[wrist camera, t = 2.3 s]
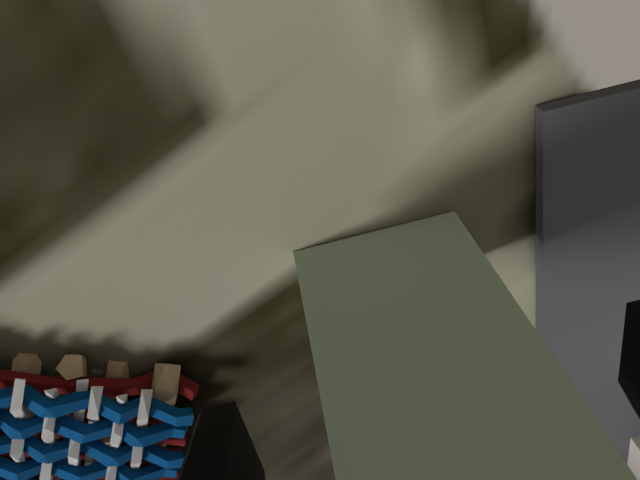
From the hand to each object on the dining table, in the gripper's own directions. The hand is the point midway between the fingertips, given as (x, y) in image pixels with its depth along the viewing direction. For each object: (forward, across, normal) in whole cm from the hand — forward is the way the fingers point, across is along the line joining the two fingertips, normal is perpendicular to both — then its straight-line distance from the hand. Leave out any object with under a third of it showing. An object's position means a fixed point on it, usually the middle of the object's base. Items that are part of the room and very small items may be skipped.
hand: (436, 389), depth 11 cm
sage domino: (+4, 0, 0) cm, 5 cm away
